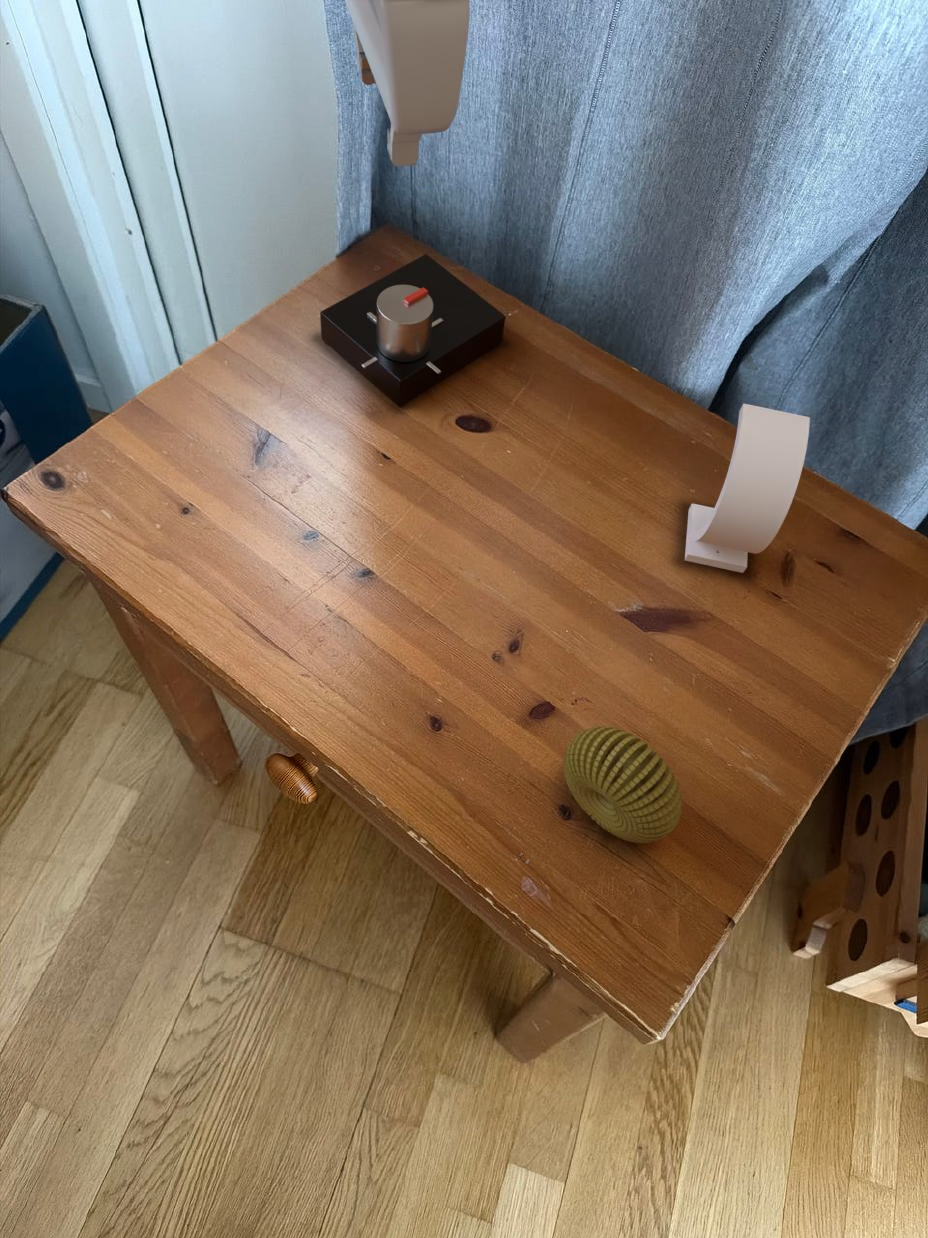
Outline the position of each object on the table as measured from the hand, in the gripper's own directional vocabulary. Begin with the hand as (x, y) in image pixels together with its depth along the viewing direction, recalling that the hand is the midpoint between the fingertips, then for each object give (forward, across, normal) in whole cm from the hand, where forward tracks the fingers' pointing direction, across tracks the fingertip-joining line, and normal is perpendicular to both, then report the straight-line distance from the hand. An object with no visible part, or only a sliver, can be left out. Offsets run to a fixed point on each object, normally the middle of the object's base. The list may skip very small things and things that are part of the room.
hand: (386, 117), depth 62 cm
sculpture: (+19, +46, +5) cm, 49 cm away
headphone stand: (+19, +28, +20) cm, 39 cm away
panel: (+18, +2, +2) cm, 19 cm away
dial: (+15, +6, 0) cm, 16 cm away
